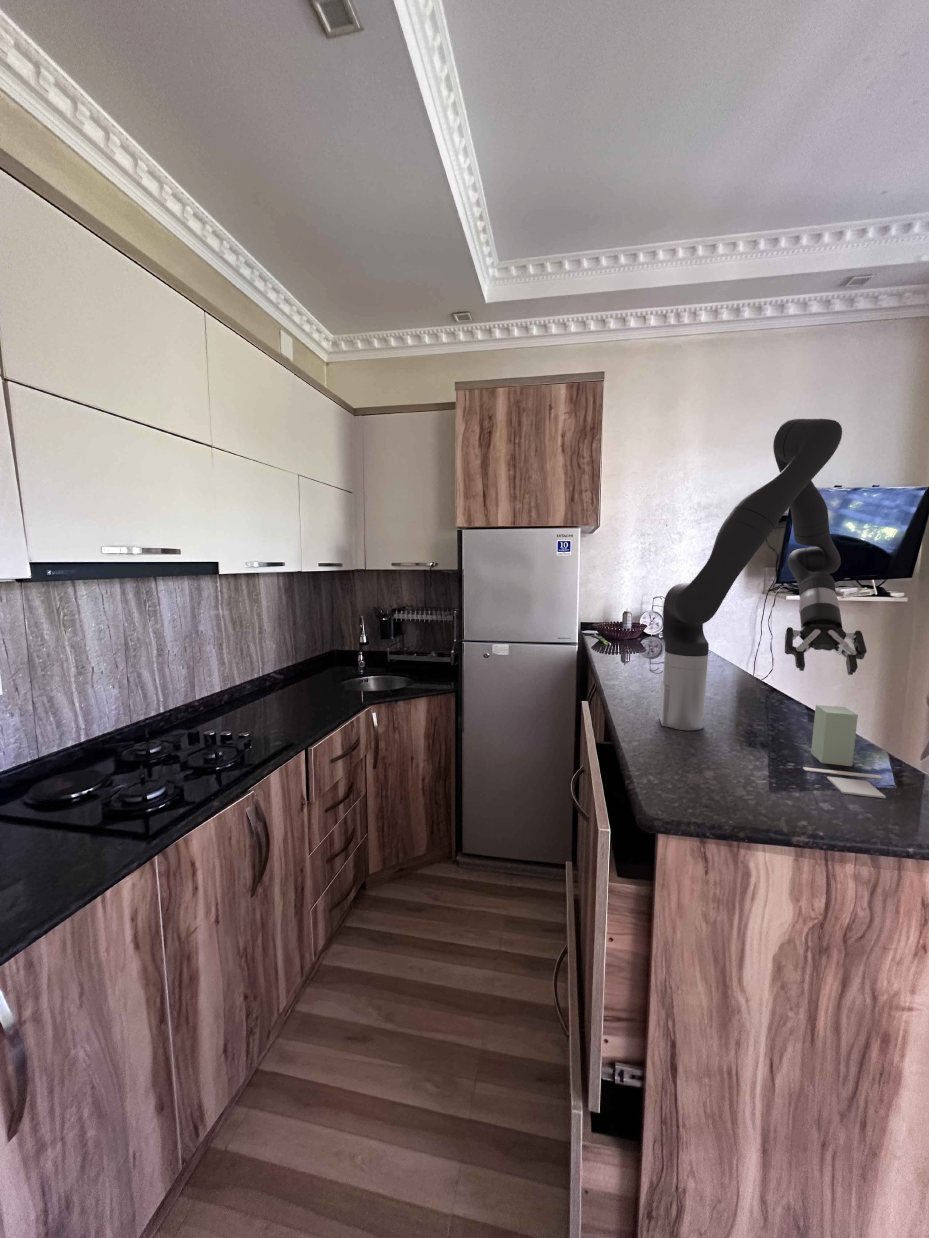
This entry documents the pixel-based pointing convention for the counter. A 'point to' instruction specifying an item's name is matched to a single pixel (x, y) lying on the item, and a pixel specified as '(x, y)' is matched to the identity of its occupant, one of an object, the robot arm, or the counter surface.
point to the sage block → (834, 735)
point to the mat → (855, 787)
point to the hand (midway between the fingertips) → (826, 670)
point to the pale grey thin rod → (842, 773)
